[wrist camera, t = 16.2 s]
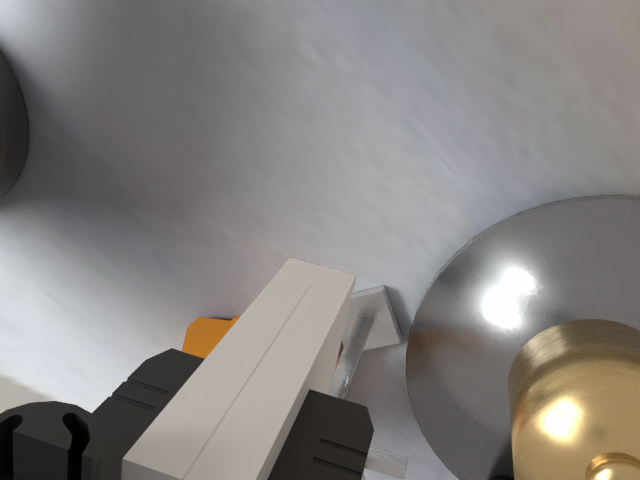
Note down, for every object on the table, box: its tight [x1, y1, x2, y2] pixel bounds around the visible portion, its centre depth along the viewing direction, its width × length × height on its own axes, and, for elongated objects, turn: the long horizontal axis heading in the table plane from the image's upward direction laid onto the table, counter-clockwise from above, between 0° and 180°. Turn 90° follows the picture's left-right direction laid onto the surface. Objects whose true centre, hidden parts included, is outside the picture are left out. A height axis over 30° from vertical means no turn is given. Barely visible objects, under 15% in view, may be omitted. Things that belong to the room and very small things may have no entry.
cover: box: [508, 319, 640, 480], centre depth 33 cm, size 10×10×9 cm
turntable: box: [406, 195, 640, 480], centre depth 32 cm, size 24×24×13 cm
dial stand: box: [327, 286, 408, 480], centre depth 33 cm, size 7×4×18 cm, turn 109°
